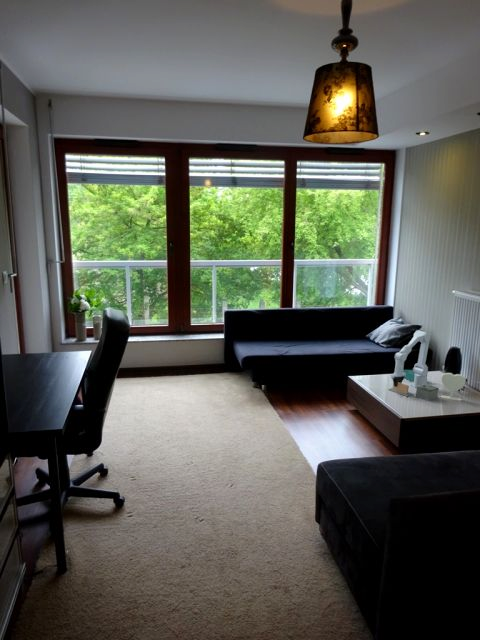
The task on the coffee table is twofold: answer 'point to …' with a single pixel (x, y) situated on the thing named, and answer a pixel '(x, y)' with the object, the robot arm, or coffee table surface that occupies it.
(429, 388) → the dispenser
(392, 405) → the coffee table surface
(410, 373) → the teal l-shaped bracket
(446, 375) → the heart sculpture
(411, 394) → the slate mat
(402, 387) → the tall tan wooden post
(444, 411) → the coffee table surface
